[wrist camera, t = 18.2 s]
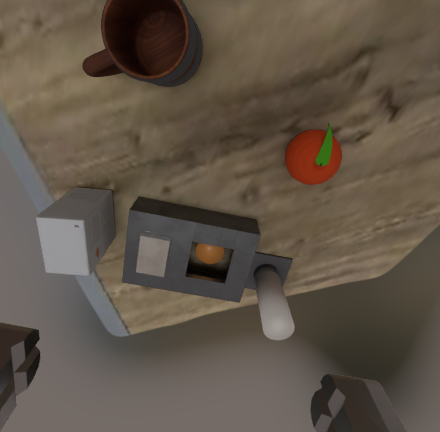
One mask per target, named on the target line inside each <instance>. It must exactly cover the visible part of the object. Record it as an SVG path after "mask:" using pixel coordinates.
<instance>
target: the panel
mask: <svg viewBox="0 0 440 432" xmlns="http://www.w3.org/2000/svg"><path fill="white" fill-rule="evenodd" d="M259 239H260V231H259V228H258V224H257V220H254V219H249V218H244V217H239V216H234V215H229V214H224V213H219V212H214V211H209V210H204V209H199V208H194V207H189V206H184V205H179V204H174V203H169V202H164V201H159V200H154V199H149V198H144V197H138V198H137V200H136V201H135V203H134V204H133V205H132V207H131V208H130V210H129V219H128V229H127V239H126V249H125V259H124V269H123V279H122V282H123V283H129V284H134V285H140V286H146V287H152V288H158V289H163V290H169V291H175V292H181V293H187V294H193V295H198V296H204V297H210V298H216V299H222V300H227V301H233V302H239V303H240V300H241V297H242V294H243V290H244V287H245V284H246V281H247V277H248V274H249V271H250V268H251V264H252V261H253V258H254V255H255V251H256V248H257V245H258V242H259ZM192 242H197V243H202V244H207V245H213V246H218V247H223V248H229V249H233V252H232V256H231V260H230V263H229V267H228V271H227V275H220V274H215V273H209V272H204V271H198V270H192V269H187V266H188V261H189V256H190V251H191V246H192Z"/></svg>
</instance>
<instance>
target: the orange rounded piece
mask: <svg viewBox="0 0 440 432" xmlns="http://www.w3.org/2000/svg"><path fill="white" fill-rule="evenodd" d="M196 256H197V258H198V259H199V260H200V261H201V262H203V263H206V264H214V263H217V262H219V261H220V260H221V259H222V258H223V256H224V248H223V247H218V246H213V245H207V244H202V243H197V245H196Z"/></svg>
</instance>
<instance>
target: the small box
mask: <svg viewBox="0 0 440 432" xmlns="http://www.w3.org/2000/svg"><path fill="white" fill-rule="evenodd" d="M36 222H37V228H38V233H39V238H40V243H41V249H42V254H43V260H44V265H45V271H46V272H48V273H60V274H72V275H84V276H90V275H91V273H92V272H93V270H94V269H95V267H96V266H97V264H98V263H99V261H100V260H101V258H102V256H103V255H104V253H105V252H106V250H107V249H108V247H109V246H110V244H111V243H112V241H113V240H114V238H115V222H114V207H113V191H112V190H102V189H91V188H80V187H74V188H73V189H72V190H70V191H69V192H68V193H67V194H65V195H64V196H63V197H61V198H60V199H59V200H57V201H56V202H55V203H53V204H52V205H51V206H49V207H48V208H47V209H45V210H44V211H43V212H41V213H40V214H39V215H38V216H36Z"/></svg>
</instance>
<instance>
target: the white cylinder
mask: <svg viewBox="0 0 440 432" xmlns="http://www.w3.org/2000/svg"><path fill="white" fill-rule="evenodd" d="M254 280H255V286H256V292H257V297H258V303H259V309H260V315H261V320H262V326H263V331H264V334H265V335H266V336H267V337H268V338H270V339H272V340H283V339H286V338H288V337H289V336H291V334H292V333H293V332H294V323H293V320H292V316H291V313H290V310H289V307H288V303H287V300H286V297H285V294H284V290H283V287H282V284H281V281H280V277H279V274H278V271H277V269H276V267H274V266H273V265H271V264H262V265H260V266H258V267H257V268H256V269H255V271H254Z"/></svg>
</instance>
